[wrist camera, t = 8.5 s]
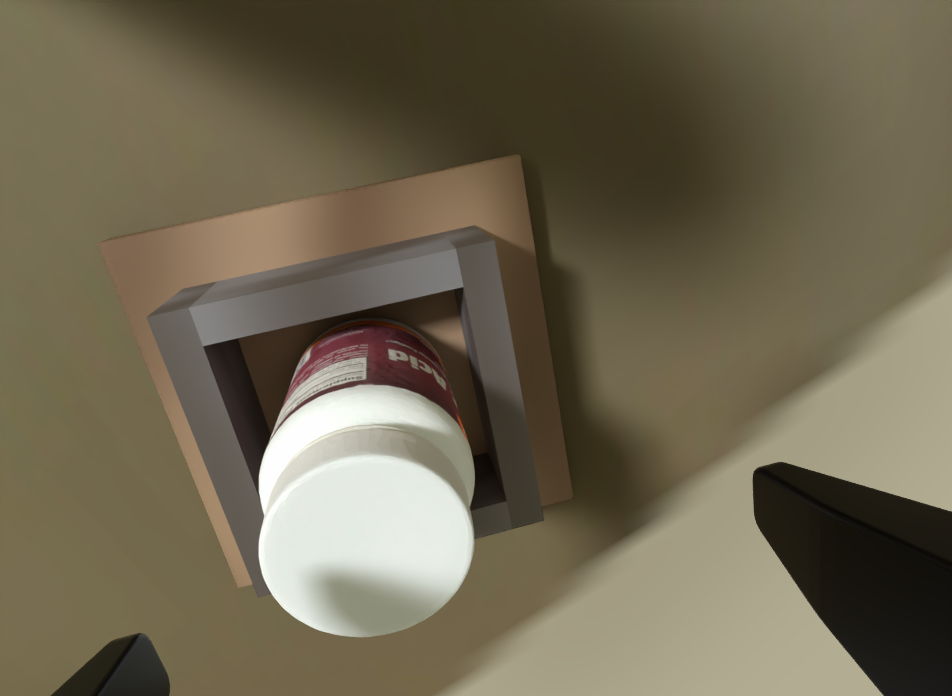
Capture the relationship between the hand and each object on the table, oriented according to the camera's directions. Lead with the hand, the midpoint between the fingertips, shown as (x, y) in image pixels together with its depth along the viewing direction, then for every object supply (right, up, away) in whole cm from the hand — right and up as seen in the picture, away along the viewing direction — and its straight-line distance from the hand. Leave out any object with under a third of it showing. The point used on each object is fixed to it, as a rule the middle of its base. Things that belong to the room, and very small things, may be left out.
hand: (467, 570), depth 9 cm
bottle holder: (-3, +2, +11) cm, 12 cm away
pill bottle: (-3, +2, +11) cm, 11 cm away
